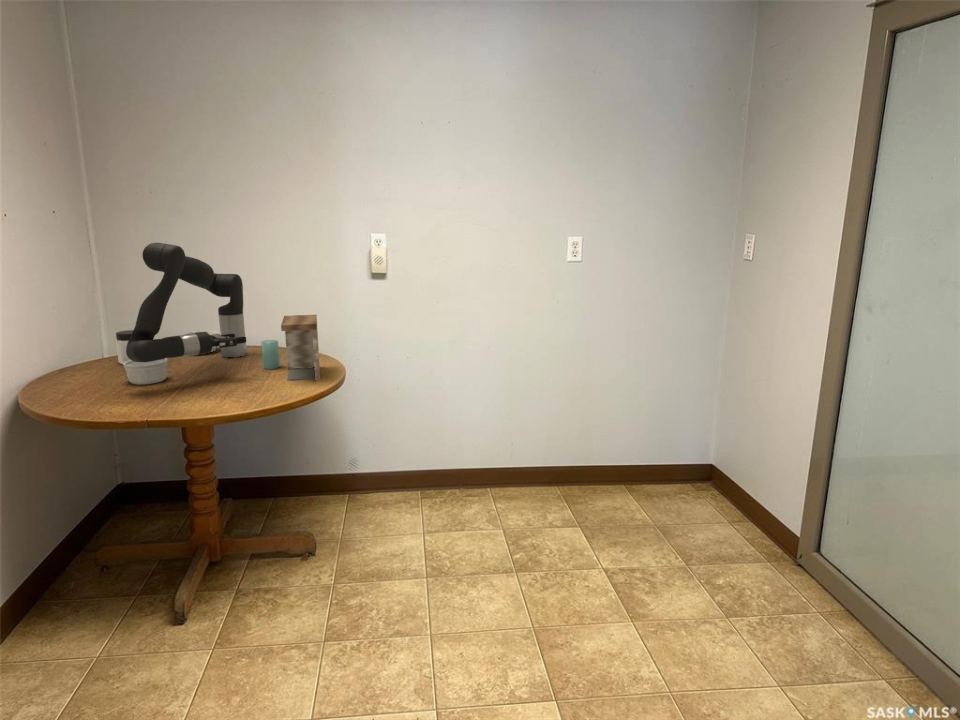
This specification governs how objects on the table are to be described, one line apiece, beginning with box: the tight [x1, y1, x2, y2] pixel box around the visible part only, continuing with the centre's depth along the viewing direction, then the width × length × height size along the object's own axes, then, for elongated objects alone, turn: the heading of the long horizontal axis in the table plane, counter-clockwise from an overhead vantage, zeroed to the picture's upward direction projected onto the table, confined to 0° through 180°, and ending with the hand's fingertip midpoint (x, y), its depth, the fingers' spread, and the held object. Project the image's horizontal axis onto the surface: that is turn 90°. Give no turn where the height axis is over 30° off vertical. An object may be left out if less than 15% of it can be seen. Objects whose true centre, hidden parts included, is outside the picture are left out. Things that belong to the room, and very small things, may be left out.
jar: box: [115, 329, 134, 366], centre depth 227 cm, size 9×8×12 cm
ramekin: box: [123, 358, 169, 386], centre depth 203 cm, size 13×13×7 cm
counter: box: [280, 314, 321, 381], centre depth 211 cm, size 12×20×20 cm, turn 15°
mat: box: [286, 368, 315, 381], centre depth 212 cm, size 9×14×1 cm, turn 15°
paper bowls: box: [180, 330, 220, 353], centre depth 245 cm, size 15×15×8 cm
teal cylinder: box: [260, 339, 281, 370], centre depth 221 cm, size 6×6×10 cm
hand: (240, 337), depth 211 cm, fingers open, 8 cm apart
